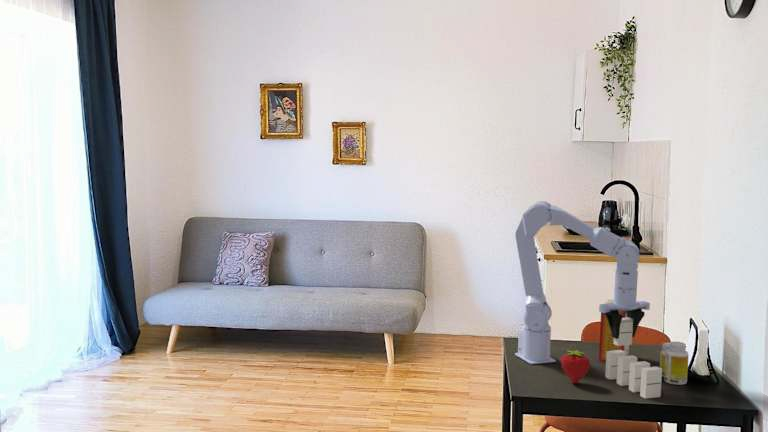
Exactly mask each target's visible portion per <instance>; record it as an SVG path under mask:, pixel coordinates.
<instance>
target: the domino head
mask: <svg viewBox="0 0 768 432" xmlns="http://www.w3.org/2000/svg"><path fill="white" fill-rule="evenodd" d="M632 333H633V319H631V318H629V317H628V318H622V320H621V324H620V331H619V338H618V339H616V338H614V343H613V344H615V345H617V346H623V345H630V346H632V345H633V337H632Z"/></svg>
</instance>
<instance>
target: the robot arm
mask: <svg viewBox="0 0 768 432" xmlns="http://www.w3.org/2000/svg"><path fill="white" fill-rule="evenodd" d="M549 222H550V224H549V226H563V227H565V228H566V229H568V230H571V231H572V232H575V233H577V234H579V235H580V236H582V237H585V238H587V239H588V241H589V244H590V246H591V247H593V248H594V249H596V250H598V251H600V252H602V253H604V254H605V255H607V256H609V257H611V258H615V260H616V268H615V270H614V271H615V275H614V276H615V277H614V291H613V300H614V302H610V303H606V302H605V303H606V304H605V303H599V305H598V307H599V308H598V309H599V310H598V312H600V313H601V312H602V313H604V314H605V316H606V318H607V320H608V322H609V325H610V329H611V334H612V337H613V338H616V339H618V338H619V331H620V324H621V320H622V317H623V315H621V314H619V313H618V311H626V314H627V318H628V317H629V318H631V319H633V333H632V338H634V337H635V335H636V331H637V330H638V327H639V324H640V323H641V321H642V319H643V318H644V317H645V316H646V315H645V311H650V307H651V302H649V301H643V300H641V301H639V300H638V301H637V294H638V279H639V278H638V275H639V271H638V268H639V264H638V262H639V259H640V250H639V248H638V246H637V245H636V244H635V243H634V242H633V241H632V240H627V238H626V237H620V236H619V235H617V234H616V233H613V232H611V228H610V227H605V228H604V227H602V226H599V227H596V228H594V226H591V225H590V224H588V223H586V222H584V221H582V220H581V219H579V218H578V217H577V216H574V215H573V214H571V213H569V212H568V211H566V210H565V209H562V208H561V207H559V206H556V205H552V204H550V203H549V202H547V201H545V200H544V201H543V200H542V201H537V202H536V203H535V204H532V205H531V206H529V207H528V209H527V210H526V211H524V212H523V214H522V217H521V219H520V222H519V224H518V226H517V228H516V231H515V235H514V236H515V242H516V246H517V247H516V248H517V253H518V259H519V264H520V265H519V266H520V269H521V270H520V271H521V275H522V280H523V282H522V283H523V287H524V292H525V314H524V323H525V324H524V325H523V326H522V327H521V328H520V329H519V330H518V331H519V332H518V340H517V341H518V343H517V352H514V355H515V356H516V357H518V358H520V359H521V360H523V361H525V362H527V363H528V364H529V365H538V364H548V363H556V362H557V360H556V359H554V358H553V357H551V339H552V337H551V336H552V334H551V333H552V327H551V325H550V324H549V321H550V320H551V319H552V316H553V315H552V309H551V307H550V305H549V304H548V302H547V297H546V295H545V293H544V288H543V283H542V277H541V272H540V265H539V259H538V253H537V249H536V248H537V247H536V241H535V236H537V234H538V232H539V231H540V230H541V229H542V228H543V227H545V226H546V225H547V224H548V223H549ZM644 310H645V311H644Z"/></svg>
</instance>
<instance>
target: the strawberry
mask: <svg viewBox="0 0 768 432" xmlns="http://www.w3.org/2000/svg"><path fill="white" fill-rule="evenodd" d="M566 352H569V353H564V354H563V356H561V359H560V364H561V368H562V370H563V371H564V373H565V375H566V376H567V377H568V378H569V380H570V381H571V382H572V383H573V384H577V383H579V381H581V380H582V379H583V378H584V377H585V376H586V375H587V373H588V372H589V370H590V367H591V362H590V360H589V358H588V357H587V356H586V354H585V352H582V351H579V350H578V349H577V350H566Z"/></svg>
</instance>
